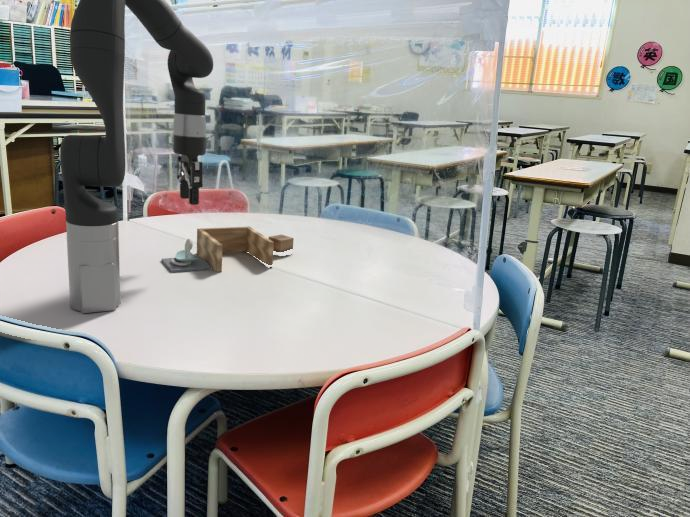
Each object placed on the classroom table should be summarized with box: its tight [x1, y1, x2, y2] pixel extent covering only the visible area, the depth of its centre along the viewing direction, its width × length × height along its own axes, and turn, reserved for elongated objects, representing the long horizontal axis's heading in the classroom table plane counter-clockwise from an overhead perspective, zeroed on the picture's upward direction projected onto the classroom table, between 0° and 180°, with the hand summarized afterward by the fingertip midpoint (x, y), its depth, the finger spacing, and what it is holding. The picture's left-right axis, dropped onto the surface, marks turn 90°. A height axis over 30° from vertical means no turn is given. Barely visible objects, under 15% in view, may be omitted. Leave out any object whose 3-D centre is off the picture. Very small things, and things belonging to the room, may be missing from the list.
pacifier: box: [171, 238, 198, 266], centre depth 138 cm, size 7×6×6 cm
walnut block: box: [268, 234, 294, 252], centre depth 157 cm, size 5×5×5 cm
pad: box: [161, 255, 213, 274], centre depth 139 cm, size 10×10×1 cm
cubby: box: [196, 226, 274, 273], centre depth 146 cm, size 17×15×7 cm
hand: (189, 201), depth 135 cm, fingers open, 8 cm apart
